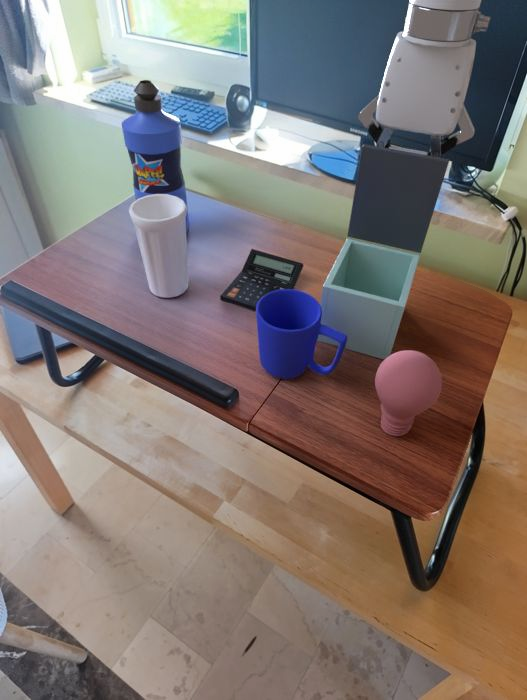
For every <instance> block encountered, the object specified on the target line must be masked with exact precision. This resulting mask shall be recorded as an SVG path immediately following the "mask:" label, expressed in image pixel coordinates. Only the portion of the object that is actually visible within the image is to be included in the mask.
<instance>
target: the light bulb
mask: <svg viewBox="0 0 527 700" xmlns="http://www.w3.org/2000/svg"><path fill="white" fill-rule="evenodd" d="M374 386H375V391H376V393H377V397H378V399H379V401H380V403H381V404H380V411H381V415H380V416H381V417H380V427H381V428H382V430H383V431H384V432H385V433H386V434H388V435H390V436H394V437H401V436H404V435H407V434H408V433H409V431H410V430H411V428H412V426H413V423H414V420H415V417H416V416H417V415H420V414H422V413H424V412H425V411H428V409H430V408H432V407H433V406H434V404H435V403H436V402H437V401H438V399H439V397H440V395H441V392H442V388H443V378H442V374H441V370H440V369H439V367H438V365H437V364H436V362H435V361H434V360H433V359H432V358H430V357H429V356H428V355H427V354H425V353H423V352H420V351H417V350H412V349H411V350H410V349H409V350H408V349H407V350H399V351H396V352H394V353H391V354H390V356H388V357H387V358H386V359H385V360H383V361H382V362H381V363H380V364H379V366H378V368H377V370H376V374H375V379H374Z"/></svg>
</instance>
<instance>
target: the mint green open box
mask: <svg viewBox="0 0 527 700" xmlns="http://www.w3.org/2000/svg"><path fill="white" fill-rule="evenodd" d="M420 256H421V254H420V253H416V252H411V251H407V250H402V249H398V248H393V247H389V246H385V245H380V244H376V243H372V242H367V241H363V240H358V239H354V238H350V237H347V238H346V240H345V242H344V244H343V246H342V248H341V249H340V252H339V254H338V256H337V258H336V259H335V262H334V263H333V265H332V268H331V270H330V271H329V273H328V275H327V277H326V279H325V281H324V283H323V285H322V290H321V295H320V303H319V304H320V306H321V309H322V317H321V324H322V325H326V326H329V327H331V328H333V329H336V330H338V331H340V332H342V333H344V334H346V335H347V337H348V338H347V343H346V346H345V349H346V350H347V351H353V352H356V353H358V354H363V355H366V356H370V357H373V358H377V359H381V360H383V361H384V360H385V359H386V358H387V357H388V356H390V355H392V351H393V347H394V344H395V341H396V337H397V335H398V331H399V328H400V324H401V321H402V318H403V315H404V311H405V310H406V305H407V301H408V298H409V295H410V291H411V288H412V285H413V281H414V278H415V274H416V271H417V267H418V263H419V260H420V258H421V257H420ZM317 342H321V343H324V344H327V345H328V344H329V345H332V346H335V347H337V348H338V347H339V342H338V341H336V340H334V339H332V338H330V337H327V336H325V335H319V336H318V339H317ZM345 349H344V350H345Z"/></svg>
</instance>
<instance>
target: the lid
mask: <svg viewBox="0 0 527 700" xmlns="http://www.w3.org/2000/svg"><path fill="white" fill-rule="evenodd" d="M427 154H428V151H424V150H418V149H413V148H406V147H401V146H393V145H391V146H390V147H389V148H383V147H378V146H376V145H372V144H366V143H363V144H362V146H361V149H360V155H359V161H358V168H357V175H356V180H355V187H354V192H353V199H352V205H351V211H350V218H349V223H348V228H347V235H346V236H347V238H351V239H355V240H359V241H364V242H368V243H373V244H377V245H381V246H386V247H390V248H395V249H399V250H403V251H408V252H412V253H416V254H421V253H422V250H423V248H424V244H425V241H426V237H427V234H428V231H429V227H430V225H431V224H430V223H431V221H432V218H433V215H434V212H435V208H436V205H437V202H438V199H439V195H440V192H441V189H442V187H443V186H442V185H443V183H444V179H445V176H446V173H447V170H448V166H449V163H450V159H449V158H445V157H441V156H440V157H434V156H428V155H427Z"/></svg>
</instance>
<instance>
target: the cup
mask: <svg viewBox="0 0 527 700" xmlns="http://www.w3.org/2000/svg"><path fill="white" fill-rule="evenodd" d="M187 209H188V206H187V207H186V205H185V203H184V201H183V200H181V199H180V198H178V197H176V196H172V195H168V194H154V195H147V196H144V197H142V198H139V199H137V200H136V199H135V200H134V201H133V202H132V203H131V204H130V206H129V208H128V212H129V216H130V218H131V221H132V223H133V227H134V231H135V235H136V239H137V243H138V246H139V250H140V255H141V260H142V263H143V267H144V272H145V276H146V279H147V283H148V287H149V290H150V292H151V293H152V294H153V295H154V296H156V297H160V298H167V299H170V298H174V297H178V296H181V295H182V294H184V293H185V292H186V291H187V290H188V288H189V265H188V264H189V263H188V244H187V243H188V241H187V232H186V219H185V218H186V212H187Z"/></svg>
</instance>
